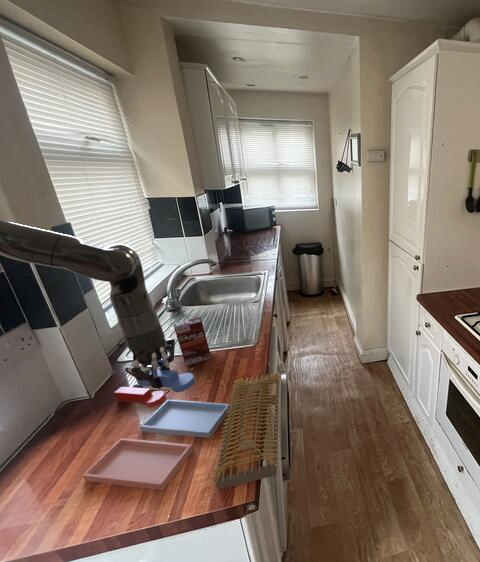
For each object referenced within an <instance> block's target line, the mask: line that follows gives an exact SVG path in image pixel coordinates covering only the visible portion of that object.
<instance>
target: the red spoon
mask: <svg viewBox="0 0 480 562" xmlns="http://www.w3.org/2000/svg"><path fill="white" fill-rule="evenodd" d="M113 393H114V396H115V398H116V400H117V402H123V403H133V404H134V403H135V404H145V406H146V407H147V408H154V407H157V406H159V405H162V404H163V403H164V402H165V401H166V399H167V397H166V393H165V391H163V390H161V389H158V390H154V391H152V390H151V388H148V387H147V388H146V387H145V388H144V387H133V386H120V387H119V388H118V389H116V390H115V391H114V392H113Z"/></svg>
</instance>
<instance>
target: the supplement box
mask: <svg viewBox="0 0 480 562" xmlns="http://www.w3.org/2000/svg"><path fill="white" fill-rule="evenodd" d="M173 327H174V332H175V335H176V338H177V339H176V340H177V342H178V346H179V348H180V352H181V355H182V358H183V362H184V364H185V366H186V367H187V366H190V365H194V364H197V363H201V362H202V361H203V362H204V361H206V360H209V359H210V360H211V359H212V355H211V350H210V347H209V344H208V338H207V335H206V331H205V327H204V324H203V320H202V316H198V317H194V318H190V319H186V320H182V321H178V322H174V323H173Z"/></svg>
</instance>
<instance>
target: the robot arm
mask: <svg viewBox="0 0 480 562" xmlns="http://www.w3.org/2000/svg"><path fill="white" fill-rule="evenodd" d="M0 256H3V257H5V258H8V259H11V260H15V261H19V262H23V263H28V264H34V265H38V266H44V267H50V268H55V269H61V270H62V269H63V270H66V271H68V272H72V273H74V274H77V275H79V276H83V277H85V278H89V279H92V280H97V281H101V282H108V283H109V285H110V293H109V300H110V303H111V306H112V308H113V311H114V313H115V316H116V318H117V323H118V327H119V329H120V331H121V334H122V336H123V339H124V340H125V344H126V346H127V348H128V350H129V351H130V352H131V353H132V360H133V362H132V363H131V364H130V366H126V367H125V368H124V372H125V373H127V374H128V375H130V376H132V377H133V378H135V380H136V379H138V380H140V381H142V380H143V381H149V382H150V384H151V388H152V389H156V390H161V389H162V388H164V387H163V386H162V383H161V380H160V378H159V376H158V373H157V368H158V367H159V370H171V368H170V366H171V363H172V362H174V360H175V347H176V339H175V338H166V336H165V333H164V330H163V327H162V324H161V321H160V318H159V316H158V313H157V311H156V310H155V308H154V305H153V303H152V299H151V296H150V294H149V292H148V289H147V287H146V282H145V281H146V280H145V275H144V270H143V266H142V262H141V259H140V256H139V254H138V253H137V251H136V250H135V249H133V247H131V246H129V245H126V244H123V243H113V244H109V245H107V246H105V247H104V248H101V247H97V246H93V245H90V244H85V243H84V242H83V240H82V239H80V238H78V237H75V236H72V235H69V234H63V233H59V232H55V231H51V230H46V229H41V228H37V227H32V226H28V225H23V224H20V223H16V222H15V223H14V222H10V221H6V220H2V219H0ZM139 364H141V367H140V365H139ZM141 369H142V370H141ZM143 370H144V371H143ZM150 371H151V372H150Z"/></svg>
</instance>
